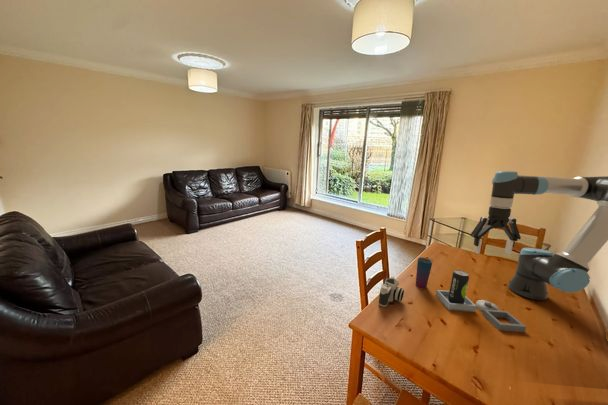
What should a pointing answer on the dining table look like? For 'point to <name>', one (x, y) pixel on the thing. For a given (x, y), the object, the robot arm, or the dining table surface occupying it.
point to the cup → (423, 272)
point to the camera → (390, 291)
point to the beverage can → (458, 287)
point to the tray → (467, 305)
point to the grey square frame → (493, 311)
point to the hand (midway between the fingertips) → (492, 253)
